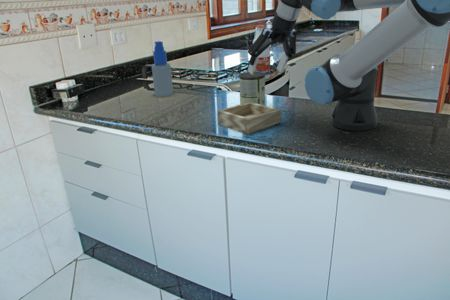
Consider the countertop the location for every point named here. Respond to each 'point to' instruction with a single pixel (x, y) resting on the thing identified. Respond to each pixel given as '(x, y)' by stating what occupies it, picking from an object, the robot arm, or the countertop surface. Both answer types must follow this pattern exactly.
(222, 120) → the light wooden square tray
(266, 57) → the fruit juice
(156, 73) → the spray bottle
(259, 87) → the coffee can
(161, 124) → the countertop surface
